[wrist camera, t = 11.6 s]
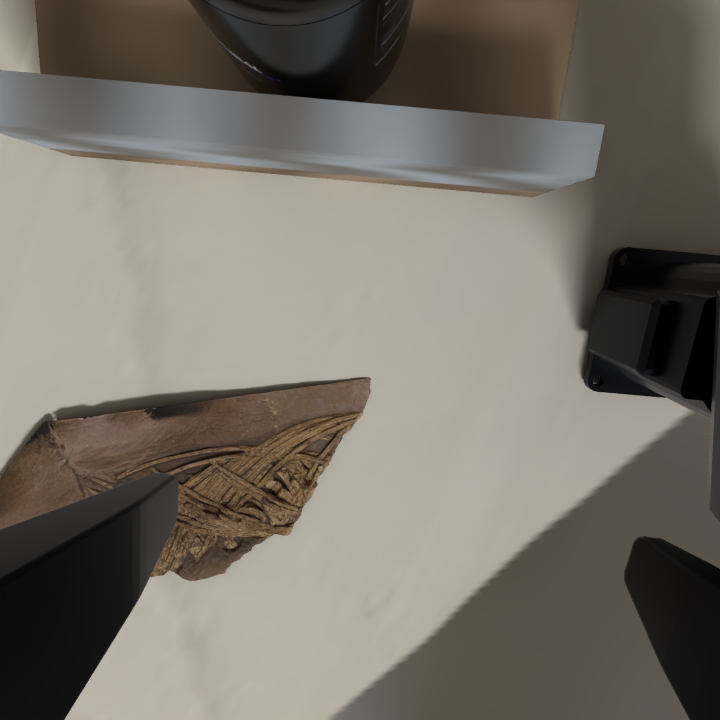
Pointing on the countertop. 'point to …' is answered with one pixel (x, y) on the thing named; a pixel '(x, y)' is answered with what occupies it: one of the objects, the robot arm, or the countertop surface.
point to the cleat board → (312, 99)
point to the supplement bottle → (310, 43)
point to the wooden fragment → (195, 466)
